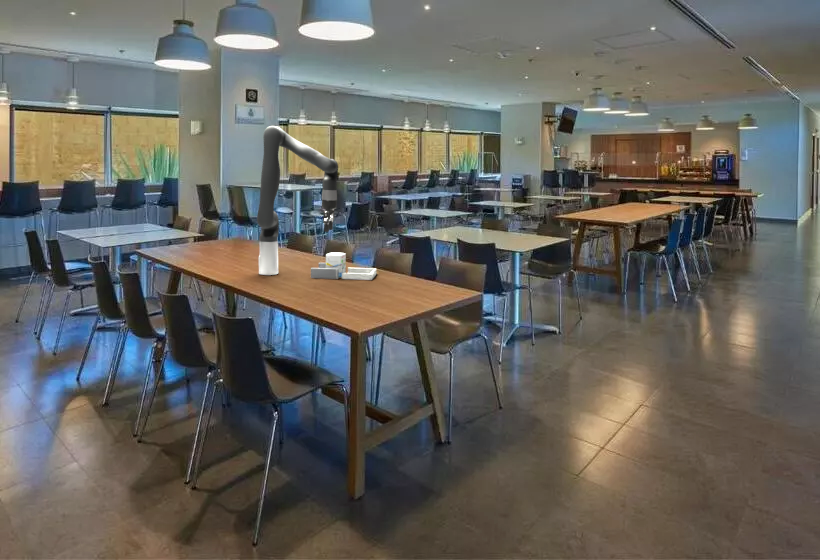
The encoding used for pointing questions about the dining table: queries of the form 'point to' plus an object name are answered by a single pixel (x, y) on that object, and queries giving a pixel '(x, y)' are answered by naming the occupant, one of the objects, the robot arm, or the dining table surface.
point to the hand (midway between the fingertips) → (328, 230)
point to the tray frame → (359, 273)
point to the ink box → (336, 262)
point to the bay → (324, 272)
